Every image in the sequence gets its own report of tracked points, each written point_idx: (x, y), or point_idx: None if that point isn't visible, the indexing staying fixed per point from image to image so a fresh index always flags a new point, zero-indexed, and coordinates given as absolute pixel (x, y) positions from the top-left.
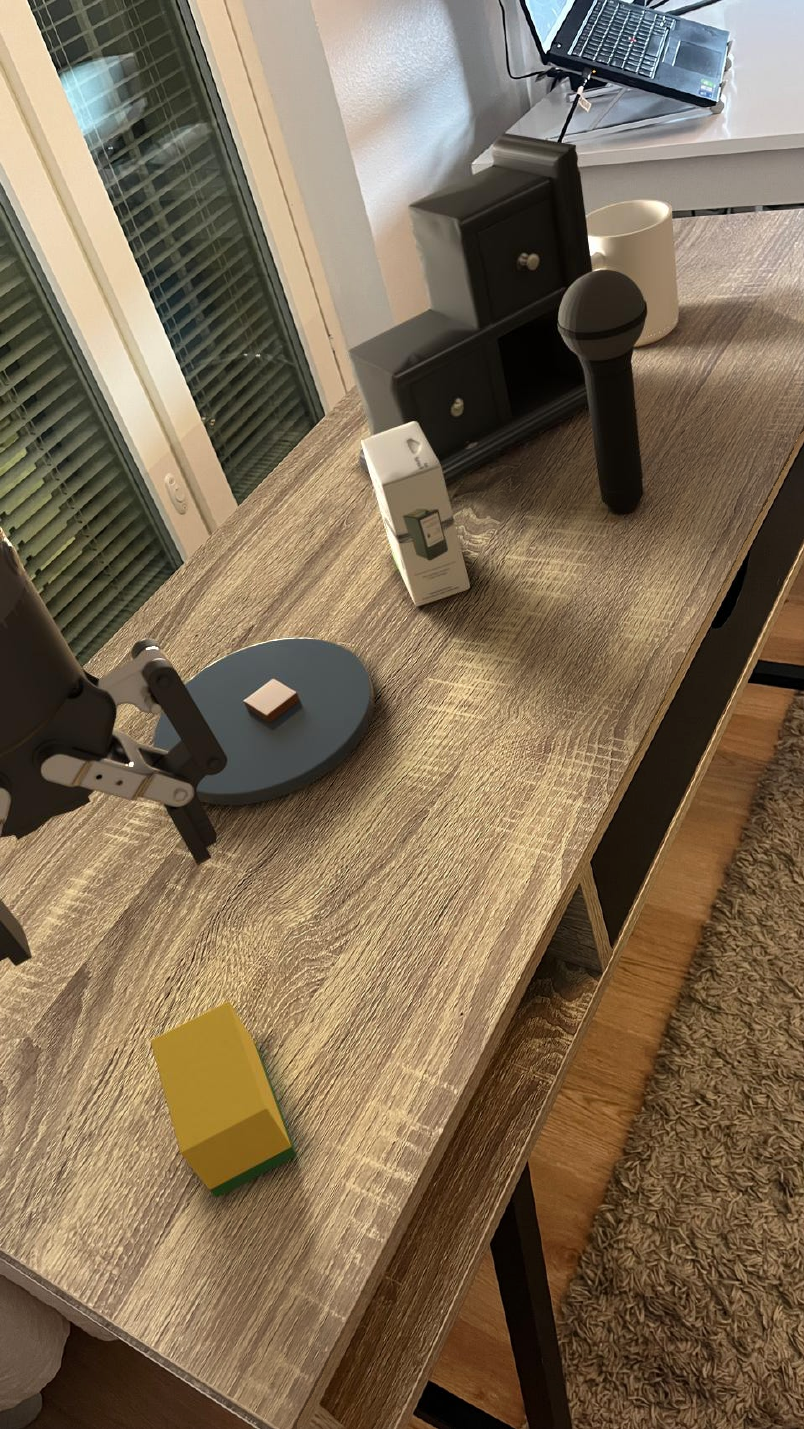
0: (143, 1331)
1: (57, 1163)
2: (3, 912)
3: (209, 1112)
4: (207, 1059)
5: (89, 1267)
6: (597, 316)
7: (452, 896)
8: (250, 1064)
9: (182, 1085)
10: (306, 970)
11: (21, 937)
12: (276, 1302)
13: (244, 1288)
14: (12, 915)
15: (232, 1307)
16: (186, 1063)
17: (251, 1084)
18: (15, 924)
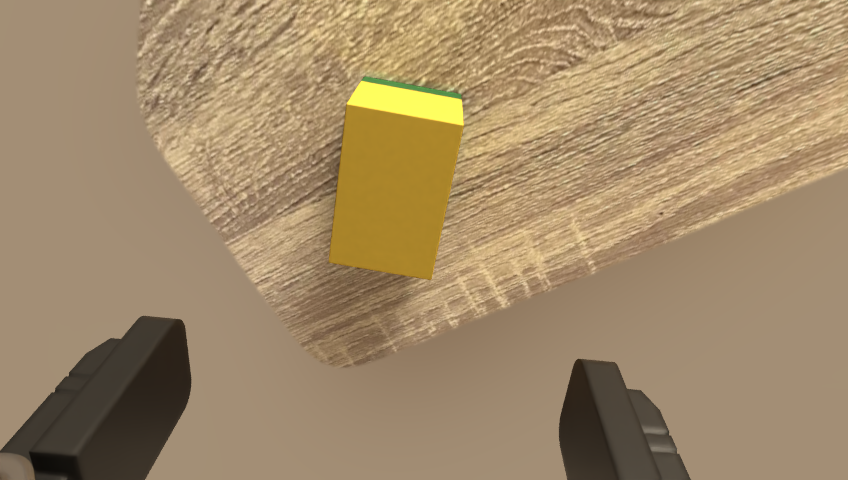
0: (246, 270)
1: (195, 58)
2: (135, 434)
3: (374, 243)
4: (401, 183)
5: (210, 191)
6: None
7: (788, 70)
8: (441, 224)
9: (360, 194)
10: (572, 30)
11: (174, 380)
12: (357, 317)
13: (338, 293)
14: (159, 350)
15: (323, 299)
16: (376, 171)
17: (430, 247)
18: (164, 368)
